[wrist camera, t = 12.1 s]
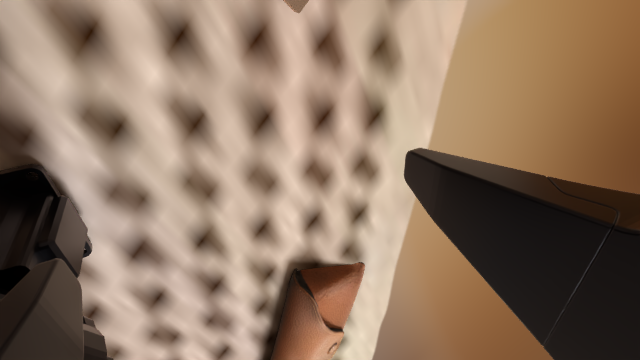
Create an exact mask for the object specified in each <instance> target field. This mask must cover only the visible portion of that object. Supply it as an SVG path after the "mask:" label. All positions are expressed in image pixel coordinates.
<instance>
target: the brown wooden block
mask: <svg viewBox="0 0 640 360" xmlns="http://www.w3.org/2000/svg"><path fill="white" fill-rule="evenodd" d="M283 1H284V2H285V3H286V4H287V5H288V6H289V7H290V8H291V9H292V10H293V11H294V12H297V13H300V12H301V10H302V9H303V8H304V6H305V5H306V4H307V2H308V1H309V0H283Z"/></svg>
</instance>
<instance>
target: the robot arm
mask: <svg viewBox="0 0 640 360" xmlns="http://www.w3.org/2000/svg"><path fill="white" fill-rule="evenodd" d="M29 172H34V173H37V174H38V176H37V177H33V176H30V175H29V174H28V173H29ZM404 178H405V181H406V183H407V184H408V186H409V187H410V188H411V190H412V191H413V193H414V194H415V196H416V197H417V198H418V200H419V201H420V203H421V204H422V206H423V207H424V208H425V209H426V211H427V213H428V214H429V215H430V217H431V218H432V219H433V221H434V222H435V223H436V224H437V226H438V227H439V228H440V229H441V230H442V231H443V232H444V234H445V235H446V236H447V237H448V238H449V239H450V240H451V242H452V243H453V244H454V245H455V246H456V247H457V248H458V250H459V251H460V252H461V253H462V254H463V255H464V257H465V258H466V259H467V260H468V261H469V262H470V263H471V265H472V266H473V267H474V268H475V269H476V270H477V271H478V273H479V274H480V275H481V276H482V277H483V278H484V279H485V281H486V282H487V283H488V284H489V285H490V286H491V288H492V289H493V290H494V291H495V292H496V293H497V294H498V296H499V297H500V298H501V299H502V300H503V301H504V302H505V303H506V305H507V306H508V307H509V308H510V309H511V310H512V312H513V313H514V314H515V315H516V316H517V317H518V319H519V320H520V321H521V322H522V323H523V324H524V325H525V327H526V328H527V329H528V330H529V331H530V332H531V333H532V335H533V336H534V337H535V338H536V339H537V340H538V341H539V342H540V344H541V345H542V346H544V349H545V350H546V351H547V352H548V353H549V354H550V356H551V357H552V358H553V359H554V360H640V194H635V193H628V192H623V191H618V190H612V189H607V188H601V187H596V186H591V185H585V184H581V183H576V182H571V181H566V180H562V179H557V178H553V177H546V176H544V175H539V174H535V173H530V172H526V171H521V170H517V169H513V168H508V167H504V166H499V165H495V164H490V163H486V162H481V161H477V160H472V159H468V158H464V157H459V156H454V155H450V154H446V153H441V152H437V151H432V150H428V149H423V148H417V149H414V150H411V151H408V152H407V154H406V159H405V169H404ZM87 231H88V229H87V227H86V225H85V224H84V222H83V221H82V219H81V217H80V216H79V214H78V212H77V211H76V209H75V208H74V206H73V204H72V203H71V201H70V199H69V198H68V197H66V196H64V195H61V194H60V193H59V191H58V189H57V188H56V186H55V185H54V183H53V181H52V180H51V178H50V177H49V175H48V173H47V172H46V170H45V169H44V168H43V167H41V166H39V165H35V164H30V165H25V166H21V167H16V168H12V169H7V170H3V171H0V360H113V358H112V357H109V356H107V350H106V345H105V339H104V336H103V335H102V334H101V333H100V332H99V331H98V330H97V329H96V327H95V324H94V321H93V320H92V319H89V318H87V317H84V316H83V310H82V289H81V286H80V283H79V281H78V280H77V278H78V276H79V274H80V269H81V264H82V258H84V257H87V256H89V255H90V254H91V252H92V244H91V242H90V241H89V239H88V237H87ZM84 248H85V250H84Z"/></svg>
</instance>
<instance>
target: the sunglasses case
mask: <svg viewBox="0 0 640 360" xmlns="http://www.w3.org/2000/svg"><path fill="white" fill-rule="evenodd" d="M364 268H365V265H364V264H363V263H361V262H359V263H355V264H352V265H341V266H332V267H322V268H313V269H304V270H299V271H297V269H295V271H294V273H293V275H292V277H291V279H290V283H289V287H288V291H287V296H286V301H285V305H284V310H283V314H282V317H281V322H280V326H279V331H278V334H277V338H276V341H275V345H274V349H273V353H272V356H271V360H330V359H331V358H332V357H333V355H334V354H335V352H336V350H337V349H338V347H339V345H340V342H341V340H342V338H343V335H344V332H343V328H344V326H345V323H346V321H347V318H348V316H349V314H350V311H351V309H352V306H353V303H354V301H355V298H356V295H357V292H358V289H359V287H360V284H361V281H362V278H363V274H364Z"/></svg>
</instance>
